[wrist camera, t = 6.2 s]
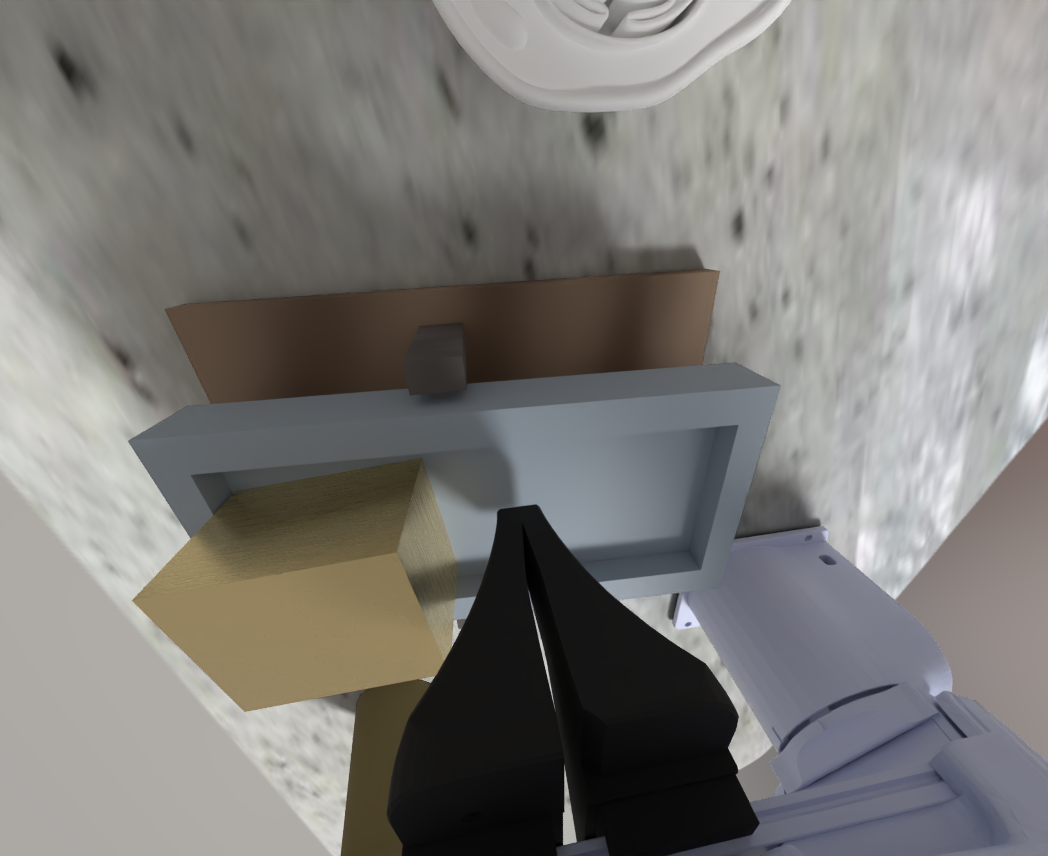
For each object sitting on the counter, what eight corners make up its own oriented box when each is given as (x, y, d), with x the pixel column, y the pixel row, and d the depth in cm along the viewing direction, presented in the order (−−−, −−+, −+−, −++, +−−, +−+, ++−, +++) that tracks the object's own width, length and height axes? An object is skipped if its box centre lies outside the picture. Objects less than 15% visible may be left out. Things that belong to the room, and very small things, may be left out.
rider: (421, 458, 12) (396, 552, 8) (457, 564, 14) (449, 672, 11) (236, 490, 12) (131, 600, 8) (303, 592, 14) (244, 711, 11)
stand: (705, 268, 15) (813, 284, 11) (661, 523, 22) (715, 603, 17) (184, 304, 13) (28, 343, 8) (309, 573, 20) (261, 680, 15)
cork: (337, 707, 26) (262, 988, 16) (402, 667, 25) (363, 942, 15) (399, 733, 29) (367, 987, 19) (460, 699, 28) (458, 948, 18)
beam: (737, 353, 13) (783, 375, 11) (691, 551, 17) (717, 592, 15) (182, 397, 11) (121, 431, 9) (288, 597, 16) (261, 648, 14)
